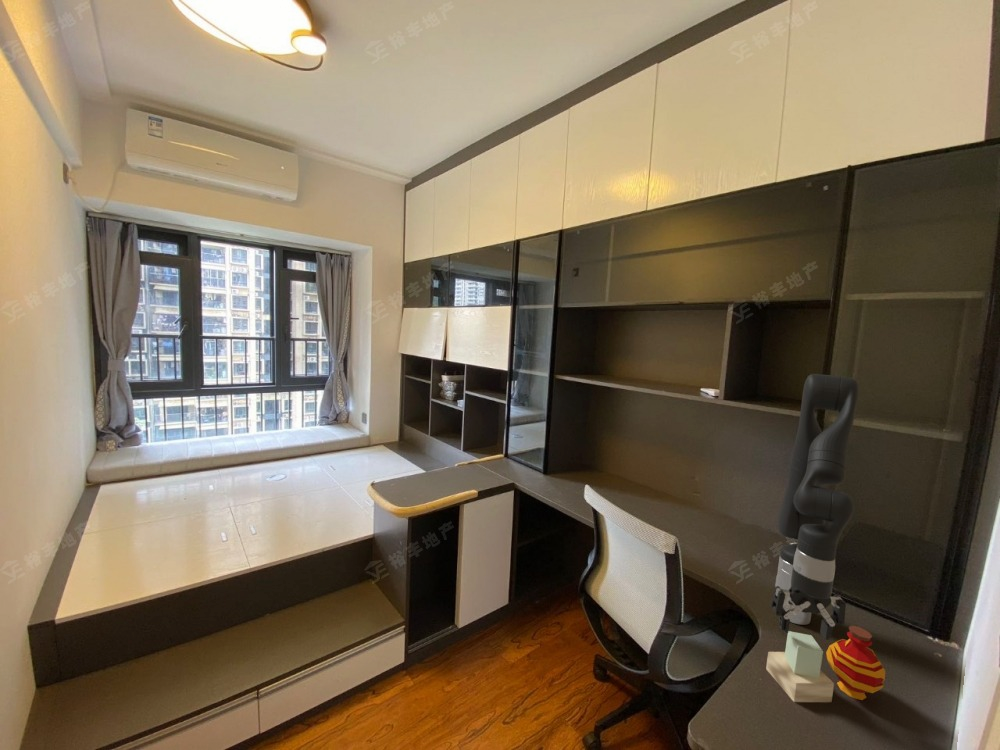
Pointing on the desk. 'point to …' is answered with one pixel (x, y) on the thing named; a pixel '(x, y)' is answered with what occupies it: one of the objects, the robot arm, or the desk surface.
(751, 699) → the desk surface
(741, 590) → the desk surface
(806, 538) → the robot arm
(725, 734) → the desk surface
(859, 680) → the potion bottle
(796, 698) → the beech base
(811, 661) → the green block
